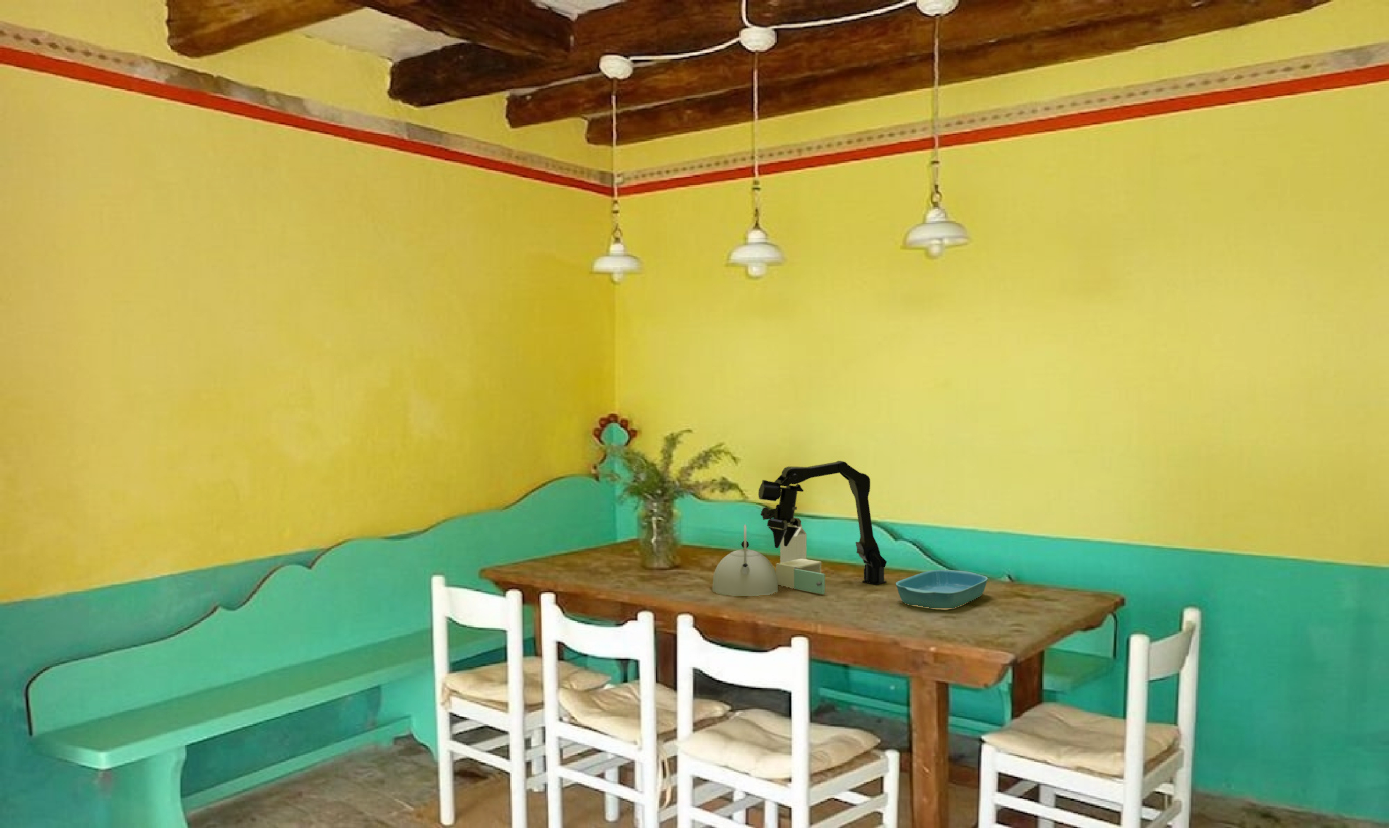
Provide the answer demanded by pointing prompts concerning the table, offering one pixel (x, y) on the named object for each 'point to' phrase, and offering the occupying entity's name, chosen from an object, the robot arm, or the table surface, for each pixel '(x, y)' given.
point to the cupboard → (787, 570)
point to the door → (809, 581)
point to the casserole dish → (941, 588)
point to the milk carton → (794, 547)
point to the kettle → (745, 573)
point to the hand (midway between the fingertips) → (781, 547)
